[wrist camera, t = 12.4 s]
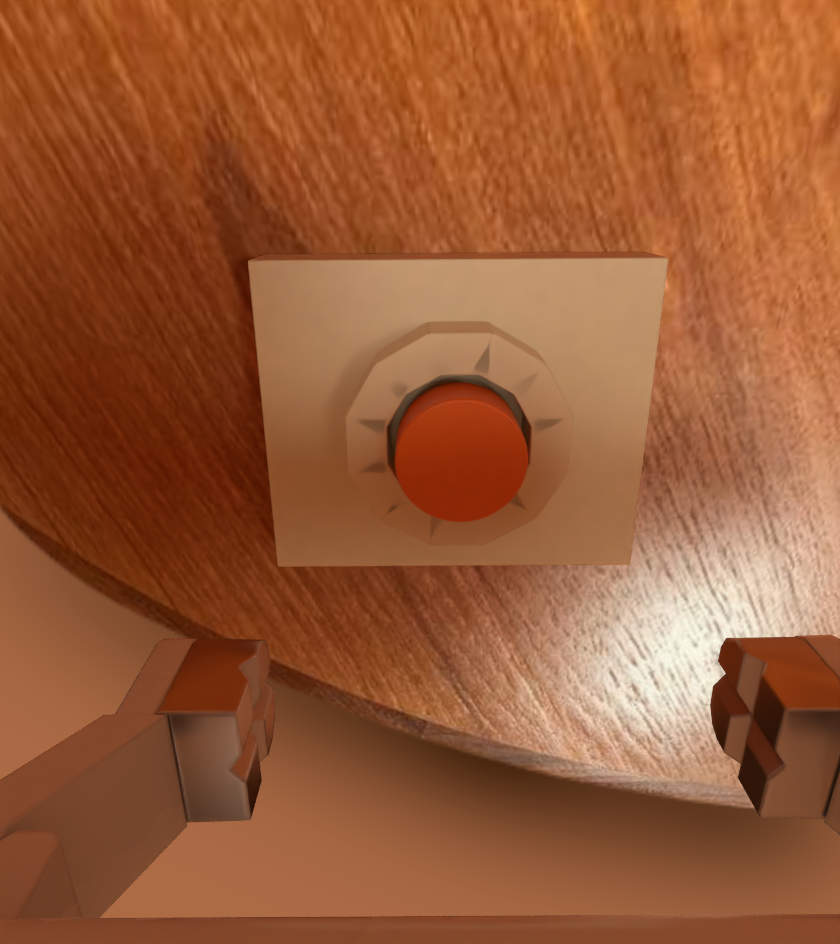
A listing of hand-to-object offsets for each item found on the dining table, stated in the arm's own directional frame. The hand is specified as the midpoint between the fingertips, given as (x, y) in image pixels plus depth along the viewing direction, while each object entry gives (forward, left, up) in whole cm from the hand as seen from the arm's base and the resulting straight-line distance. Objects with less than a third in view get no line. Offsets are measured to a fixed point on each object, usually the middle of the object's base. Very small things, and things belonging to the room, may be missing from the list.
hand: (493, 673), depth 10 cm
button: (0, 0, -11) cm, 11 cm away
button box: (0, 0, -14) cm, 14 cm away
